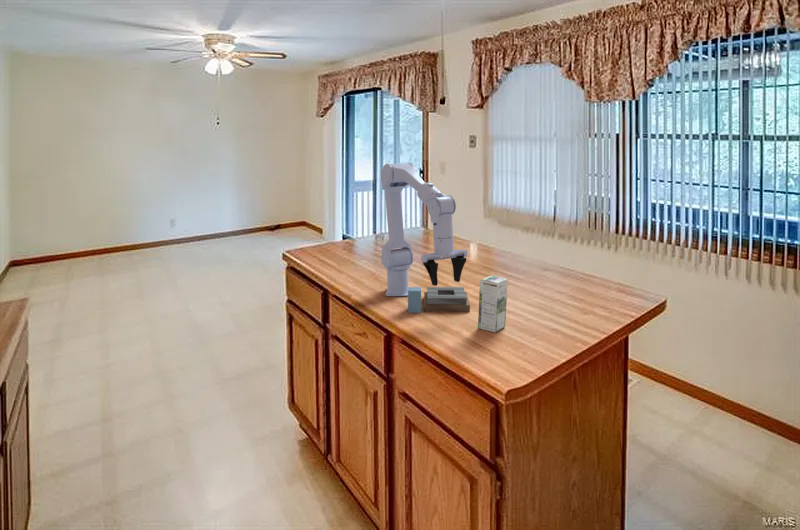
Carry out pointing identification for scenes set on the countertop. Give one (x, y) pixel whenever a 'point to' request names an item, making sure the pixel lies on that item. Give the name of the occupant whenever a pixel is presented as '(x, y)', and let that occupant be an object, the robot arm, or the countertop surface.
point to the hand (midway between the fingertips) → (445, 283)
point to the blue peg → (414, 299)
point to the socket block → (446, 299)
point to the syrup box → (492, 303)
